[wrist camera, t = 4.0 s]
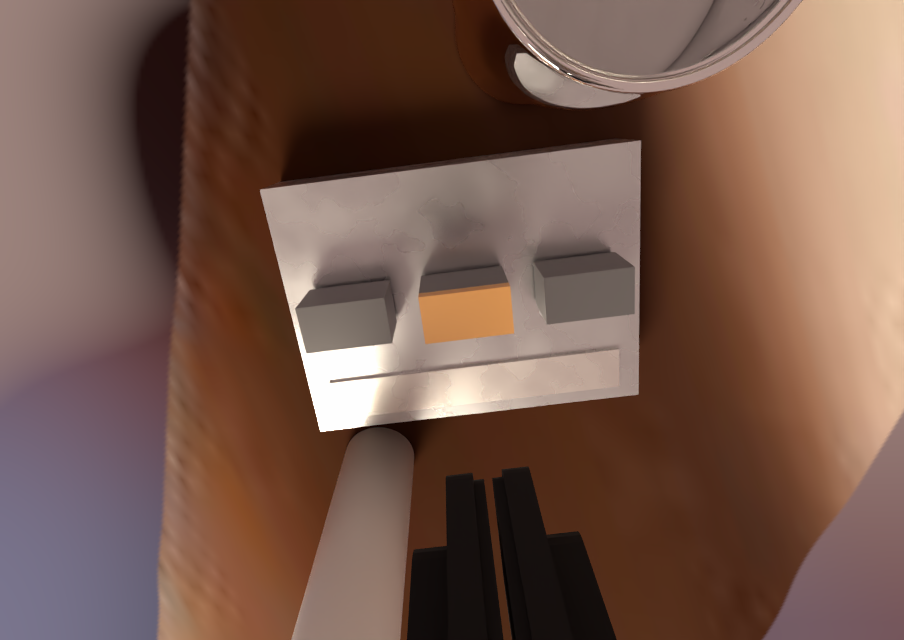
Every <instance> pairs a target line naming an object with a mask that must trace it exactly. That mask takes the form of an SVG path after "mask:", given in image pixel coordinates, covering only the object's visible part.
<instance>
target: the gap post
mask: <svg viewBox="0 0 904 640" xmlns="http://www.w3.org/2000/svg"><path fill="white" fill-rule="evenodd" d="M413 467H414V451H413V448H412V445H411V444H410V442H409V441H408V440H407V438H405V437H404V436H403V435H402V434H400V433H399V432H397V431H395V430H392V429H389V428H384V427H374V428H369V429H365V430H363V431H361V432H359V433H358V434H356V435H355V436H354V437H353V438H352V439H351V441H350V442H349V444H348V446H347V449H346V452H345V456H344V459H343V463H342V466H341V470H340V473H339V477H338V480H337V484H336V487H335V491H334V494H333V497H332V501H331V504H330V508H329V511H328V515H327V518H326V522H325V525H324V529H323V532H322V536H321V539H320V543H319V546H318V550H317V553H316V557H315V560H314V564H313V567H312V570H311V574H310V577H309V581H308V584H307V588H306V591H305V595H304V598H303V602H302V605H301V609H300V612H299V616H298V619H297V623H296V626H295V630H294V633H293V636H292V640H400V632H401V620H402V607H403V594H404V582H405V569H406V556H407V543H408V531H409V518H410V505H411V493H412V480H413Z"/></svg>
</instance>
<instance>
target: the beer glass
mask: <svg viewBox="0 0 904 640" xmlns="http://www.w3.org/2000/svg"><path fill="white" fill-rule="evenodd" d="M802 1H803V0H452V4H453V9H454V12H455V16H456V18H455V38H456V45H457V49H458V53H459V56H460V59H461V61H462V63H463V66H464V68H465V69H466V71H467V73H468V74H469V76H470V77H471V79H472V80H473V81H474V82H475V84H476V85H477V86H478V87H479V88H480V89H482V90H483V91H484V92H485V93H487V94H488V95H490V96H491V97H493V98H495V99H497V100H500V101H503V102H506V103H510V104H517V105H527V104H535V105H539V106H542V107H546V108H552V109H560V110H575V111H585V110H597V109H604V108H609V107H614V106H619V105H624V104H628V103H632V102H635V101H639V100H642V99H645V98H648V97H651V96H654V95H657V94H660V93H662V92H665V91H670V90H675V89H679V88H683V87H686V86H689V85H692V84H695V83H698V82H700V81H703V80H705V79H707V78H710V77H712V76H714V75H716V74H718V73H720V72H722V71H724V70H725V69H727V68H729V67H730V66H732V65H734V64H735V63H737V62H738V61H740V60H741V59H743V58H744V57H746V56H747V55H748V54H750V53H751V52H752V51H754V50H755V49H756V48H757V47H759V46H760V45H761V44H762V43H763V42H765V41H766V40H767V39H768V38H769V37H770V36H771V35H772V34H773V33H774V32H775V31H776V30H777V29H778V28H780V26H781V25H782V24H783V23H784V22H785V21H786V20H787V19H788V18H789V17H790V15H791V14H792V13H793V12H794V11H795V10H796V8H797V7H798V6H799V5H800V3H801V2H802Z"/></svg>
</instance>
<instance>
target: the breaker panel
mask: <svg viewBox="0 0 904 640" xmlns="http://www.w3.org/2000/svg"><path fill="white" fill-rule="evenodd" d="M640 184H641V140H631V139H620V138H616V139H608V140H600V141H592V142H585V143H577V144H569V145H562V146H554V147H546V148H538V149H531V150H523V151H515V152H507V153H500V154H492V155H484V156H477V157H469V158H461V159H453V160H446V161H438V162H430V163H422V164H415V165H407V166H399V167H392V168H384V169H376V170H368V171H361V172H353V173H345V174H337V175H330V176H322V177H314V178H306V179H299V180H291V181H283V182H279V183H276V184H274V185H271V186H268V187H266V188H263V189H260V192H261V196H262V200H263V204H264V208H265V212H266V216H267V220H268V224H269V228H270V232H271V236H272V240H273V244H274V248H275V252H276V256H277V260H278V264H279V268H280V272H281V276H282V280H283V284H284V288H285V292H286V296H287V300H288V304H289V308H290V312H291V316H292V320H293V324H294V328H295V331H296V335H297V339H298V343H299V347H300V351H301V355H302V359H303V363H304V367H305V371H306V375H307V379H308V383H309V387H310V391H311V395H312V399H313V403H314V407H315V411H316V415H317V419H318V423H319V427H320V431H329V430H338V429H346V428H355V427H363V426H372V425H380V424H389V423H398V422H406V421H415V420H423V419H432V418H440V417H449V416H458V415H466V414H475V413H483V412H492V411H500V410H509V409H518V408H526V407H535V406H543V405H552V404H560V403H569V402H577V401H586V400H595V399H603V398H612V397H620V396H629V395H637V394H638V386H639V285H640ZM610 252H616V253H617V254H618V255H620V256H621V257H622V258H624V259H625V260H626V261H628V262H629V263H630V264H632V265H633V266H634V267H635V314H631V315H623V316H614V317H606V318H598V319H590V320H581V321H573V322H565V323H556V324H548V325H547V324H546V322H545V320H544V319H543V317H542V315H541V313H540V311H539V309H538V307H537V305H536V295H535V280H534V265H533V262H537V261H545V260H553V259H561V258H569V257H578V256H586V255H594V254H602V253H610ZM497 266H502V268H503V270H504V272H505V275H506V277H507V280H508V282H509V284H510V289H511V301H512V312H513V324H514V334H506V335H497V336H489V337H481V338H472V339H464V340H456V341H448V342H439V343H431V344H425V338H424V332H423V325H422V319H421V312H420V306H419V299H418V295H419V287H420V280H421V276H424V275H432V274H440V273H448V272H456V271H465V270H473V269H481V268H489V267H497ZM384 280H390V284H391V290H392V296H393V301H394V307H395V313H396V319H397V323H396V328H395V333H394V337H393V342H392V343H391V344H382V345H374V346H366V347H358V348H349V349H341V350H333V351H324V352H316V353H308V354H306V351H305V347H304V343H303V339H302V335H301V331H300V327H299V323H298V319H297V315H296V310H295V308H296V307H297V306H298V304H299V303H300V302H301V300H302V299H303V298H304V297H305V295H306V294H307V293H308V291H309V290H311V289H319V288H327V287H335V286H343V285H351V284H360V283H368V282H376V281H384Z"/></svg>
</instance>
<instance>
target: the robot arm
mask: <svg viewBox="0 0 904 640" xmlns="http://www.w3.org/2000/svg"><path fill="white" fill-rule="evenodd" d="M492 480H493V489H494V498H495V507H496V515H497V524H498V533H499V541H500V550H501V559H502V568H503V576H504V585H505V592H506V600H507V607H508V614H509V621H510V629H511V636H512V640H616V637H615V634H614V631H613V628H612V625H611V622H610V619H609V616H608V613H607V610H606V607H605V604H604V601H603V598H602V596H601V593H600V590H599V587H598V584H597V581H596V578H595V575H594V572H593V569H592V566H591V563H590V560H589V557H588V554H587V551H586V549H585V546H584V543H583V540H582V537H581V535H580V533H579V532H578V531H577V532H568V533H559V534H550V535H546V532H545V528H544V524H543V520H542V516H541V512H540V508H539V505H538V501H537V497H536V493H535V489H534V485H533V481H532V477H531V473H530V470H529V467H520V468H511V469H502V477H498V478H492ZM446 521H447V546H443V547H434V548H425V549H416V550H414V552H413V557H412V571H411V586H410V602H409V617H408V633H407V640H503V633H502V625H501V617H500V608H499V600H498V592H497V584H496V575H495V567H494V559H493V551H492V543H491V535H490V526H489V518H488V510H487V502H486V494H485V485H484V479H480V480H473V473H467V474H459V475H450V476H446Z"/></svg>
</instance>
